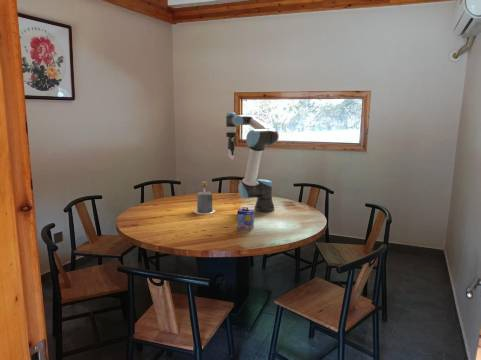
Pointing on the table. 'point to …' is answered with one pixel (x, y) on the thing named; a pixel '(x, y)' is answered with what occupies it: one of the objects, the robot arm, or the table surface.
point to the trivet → (204, 213)
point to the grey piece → (204, 202)
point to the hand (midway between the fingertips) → (231, 158)
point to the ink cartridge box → (245, 219)
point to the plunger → (204, 184)
